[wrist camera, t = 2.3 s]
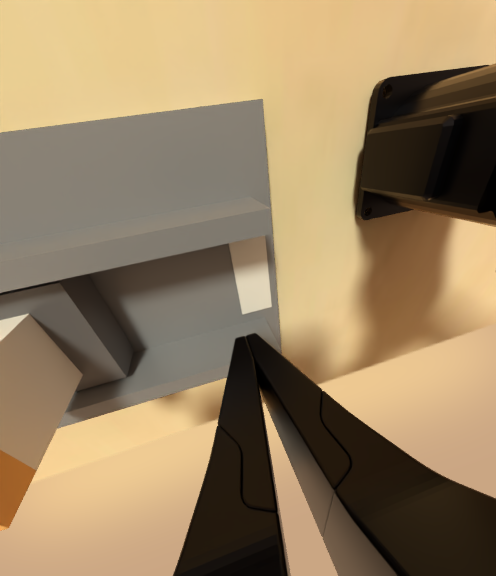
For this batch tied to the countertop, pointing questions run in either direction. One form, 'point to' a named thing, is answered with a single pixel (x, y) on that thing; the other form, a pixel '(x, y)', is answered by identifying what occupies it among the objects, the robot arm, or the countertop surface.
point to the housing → (149, 237)
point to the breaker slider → (49, 370)
